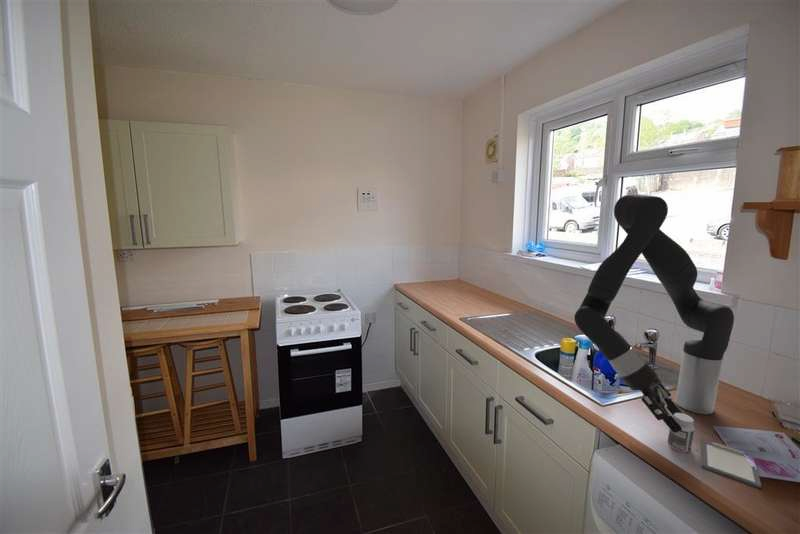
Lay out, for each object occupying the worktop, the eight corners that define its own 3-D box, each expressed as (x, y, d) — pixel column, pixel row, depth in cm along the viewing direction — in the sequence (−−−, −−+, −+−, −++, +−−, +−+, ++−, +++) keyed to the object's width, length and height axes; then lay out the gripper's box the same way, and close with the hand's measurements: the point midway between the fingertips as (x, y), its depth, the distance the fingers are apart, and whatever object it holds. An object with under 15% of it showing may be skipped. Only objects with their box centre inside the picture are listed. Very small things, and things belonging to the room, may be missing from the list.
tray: (701, 442, 94) (701, 437, 94) (753, 459, 88) (754, 454, 88) (702, 467, 85) (702, 462, 85) (761, 488, 79) (762, 483, 78)
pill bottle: (680, 440, 95) (685, 411, 93) (695, 452, 90) (700, 422, 88) (662, 440, 94) (667, 411, 93) (677, 452, 90) (682, 422, 88)
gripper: (641, 370, 89) (693, 431, 84) (647, 353, 100) (693, 405, 95) (615, 383, 93) (662, 441, 88) (623, 365, 104) (666, 416, 99)
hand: (678, 423), depth 91 cm, fingers open, 8 cm apart
